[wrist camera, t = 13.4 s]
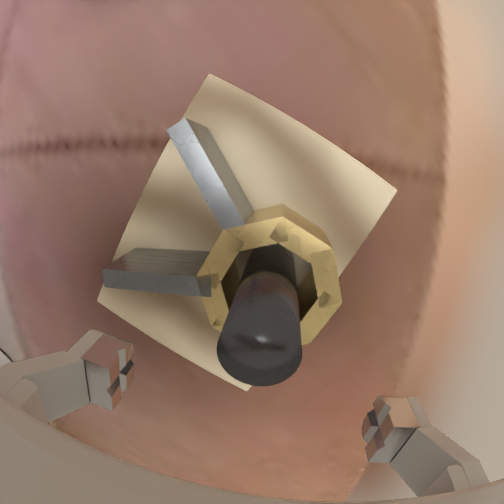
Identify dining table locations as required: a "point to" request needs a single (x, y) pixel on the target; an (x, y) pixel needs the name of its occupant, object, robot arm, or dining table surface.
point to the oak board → (259, 195)
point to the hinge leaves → (231, 244)
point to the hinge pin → (263, 320)
